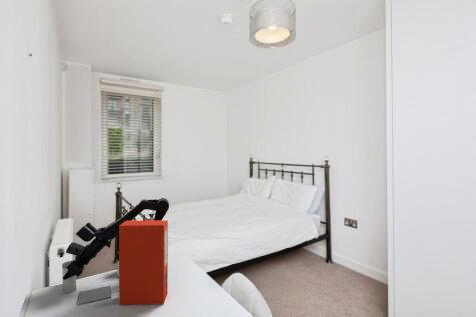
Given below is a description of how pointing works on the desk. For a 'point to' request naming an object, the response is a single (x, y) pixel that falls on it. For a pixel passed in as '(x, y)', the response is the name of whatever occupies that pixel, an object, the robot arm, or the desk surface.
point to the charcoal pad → (94, 295)
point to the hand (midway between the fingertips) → (65, 275)
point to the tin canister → (68, 280)
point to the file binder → (143, 262)
